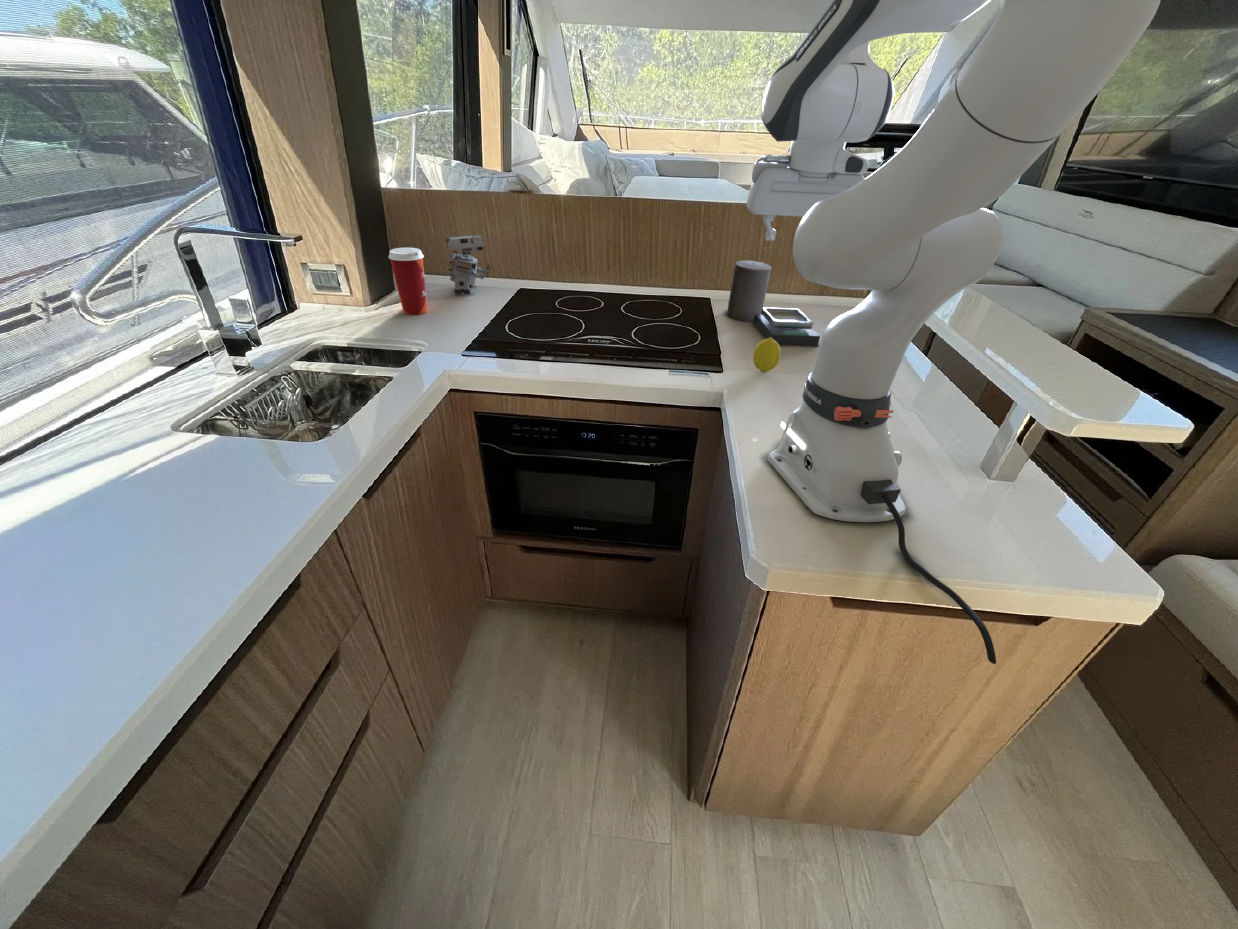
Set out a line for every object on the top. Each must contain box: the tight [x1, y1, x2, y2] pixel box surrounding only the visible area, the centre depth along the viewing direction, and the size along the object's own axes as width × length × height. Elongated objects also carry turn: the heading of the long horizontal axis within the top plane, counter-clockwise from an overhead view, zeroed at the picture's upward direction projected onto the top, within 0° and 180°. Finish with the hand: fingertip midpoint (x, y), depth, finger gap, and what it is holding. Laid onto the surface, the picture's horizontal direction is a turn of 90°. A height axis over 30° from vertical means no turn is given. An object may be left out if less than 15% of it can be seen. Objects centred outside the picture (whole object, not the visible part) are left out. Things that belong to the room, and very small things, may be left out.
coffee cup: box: [388, 247, 428, 316], centre depth 132 cm, size 8×8×15 cm
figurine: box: [445, 234, 492, 296], centre depth 150 cm, size 9×12×15 cm
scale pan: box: [761, 307, 814, 329], centre depth 135 cm, size 11×10×2 cm
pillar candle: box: [726, 259, 772, 322], centre depth 143 cm, size 10×10×15 cm
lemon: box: [752, 338, 781, 374], centre depth 113 cm, size 6×6×8 cm
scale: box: [752, 314, 821, 347], centre depth 136 cm, size 16×12×3 cm
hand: (793, 241), depth 99 cm, fingers open, 8 cm apart
